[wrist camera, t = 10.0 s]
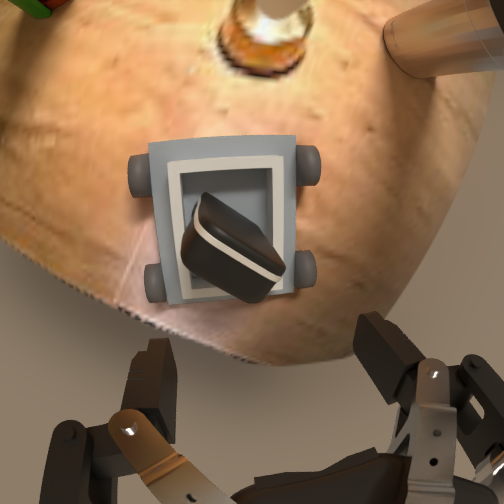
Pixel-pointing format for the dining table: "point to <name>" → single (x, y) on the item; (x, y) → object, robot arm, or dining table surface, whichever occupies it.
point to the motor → (38, 6)
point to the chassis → (229, 192)
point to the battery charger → (230, 251)
